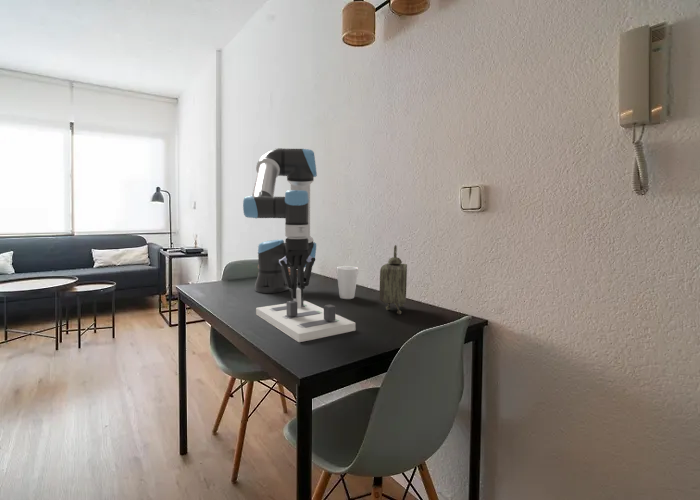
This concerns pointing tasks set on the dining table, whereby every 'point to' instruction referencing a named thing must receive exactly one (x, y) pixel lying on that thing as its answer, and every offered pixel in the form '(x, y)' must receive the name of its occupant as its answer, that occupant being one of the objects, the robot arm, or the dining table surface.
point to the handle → (329, 312)
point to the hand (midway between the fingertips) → (297, 307)
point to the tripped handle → (291, 308)
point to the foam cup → (347, 281)
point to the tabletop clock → (393, 282)
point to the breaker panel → (304, 321)
